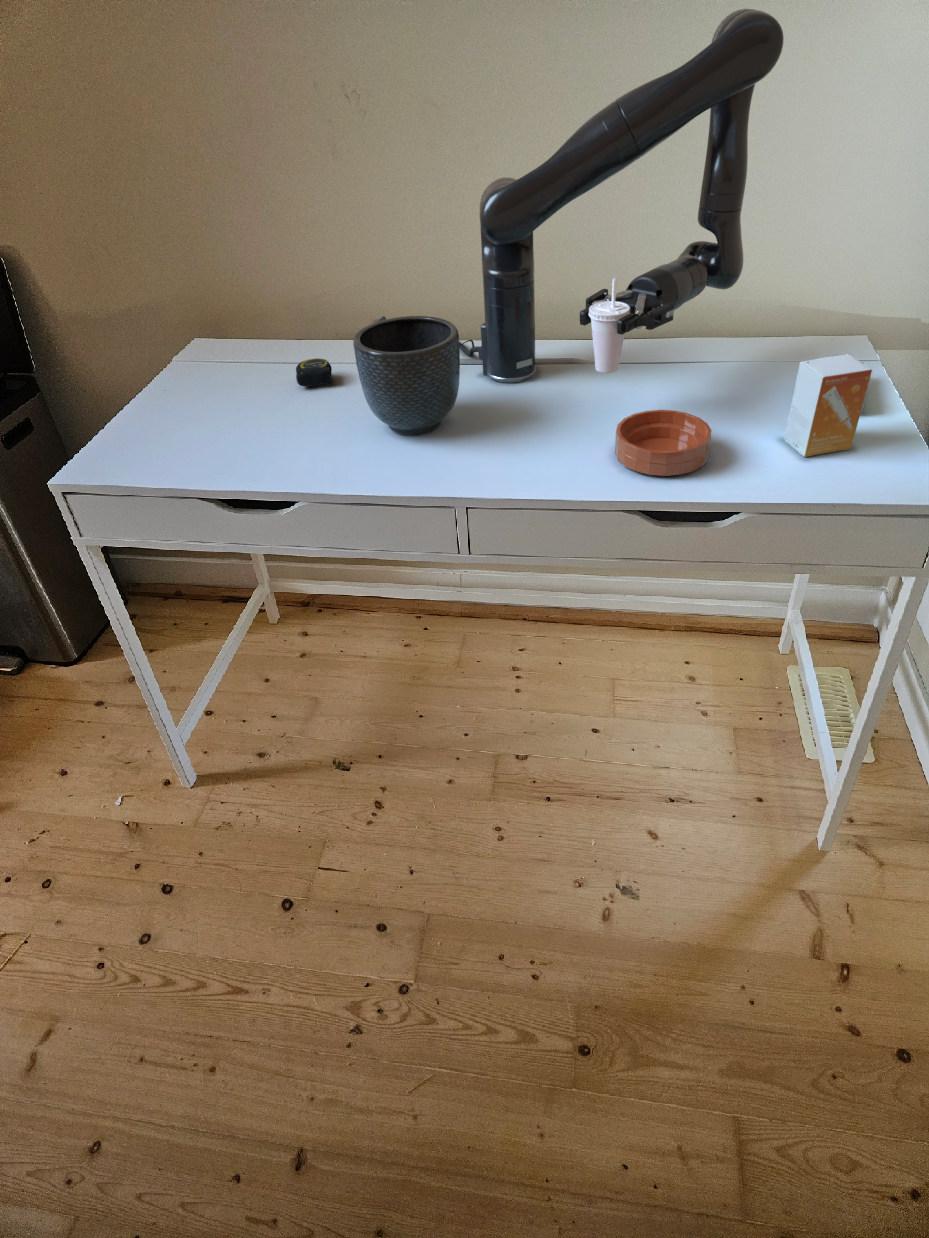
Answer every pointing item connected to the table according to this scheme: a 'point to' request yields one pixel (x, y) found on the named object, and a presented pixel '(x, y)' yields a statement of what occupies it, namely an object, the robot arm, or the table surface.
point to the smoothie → (607, 332)
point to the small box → (826, 404)
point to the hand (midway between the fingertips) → (600, 323)
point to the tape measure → (313, 372)
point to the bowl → (662, 442)
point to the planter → (409, 371)
